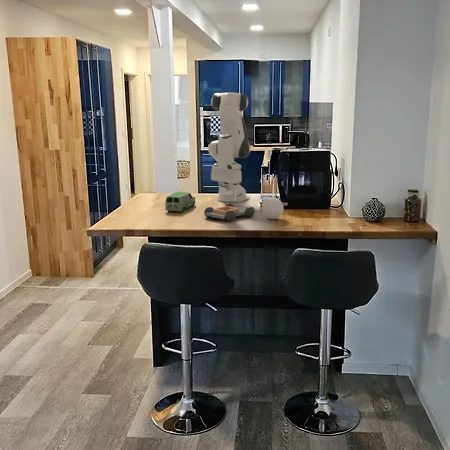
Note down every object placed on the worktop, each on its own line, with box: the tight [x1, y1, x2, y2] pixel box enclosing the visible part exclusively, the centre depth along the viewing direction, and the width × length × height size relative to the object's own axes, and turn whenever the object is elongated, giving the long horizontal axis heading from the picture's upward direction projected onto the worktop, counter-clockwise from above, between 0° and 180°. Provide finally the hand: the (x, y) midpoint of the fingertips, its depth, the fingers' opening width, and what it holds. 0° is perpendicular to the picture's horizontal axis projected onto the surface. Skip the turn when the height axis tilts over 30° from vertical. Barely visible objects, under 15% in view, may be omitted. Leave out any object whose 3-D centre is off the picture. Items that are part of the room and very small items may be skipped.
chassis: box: [203, 202, 256, 223], centre depth 284 cm, size 24×18×6 cm
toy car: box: [164, 191, 197, 213], centre depth 307 cm, size 11×25×10 cm, turn 163°
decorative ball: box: [261, 197, 284, 220], centre depth 279 cm, size 12×12×12 cm
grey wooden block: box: [218, 184, 232, 195], centre depth 279 cm, size 6×4×5 cm
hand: (225, 190), depth 279 cm, fingers closed on grey wooden block, 4 cm apart
